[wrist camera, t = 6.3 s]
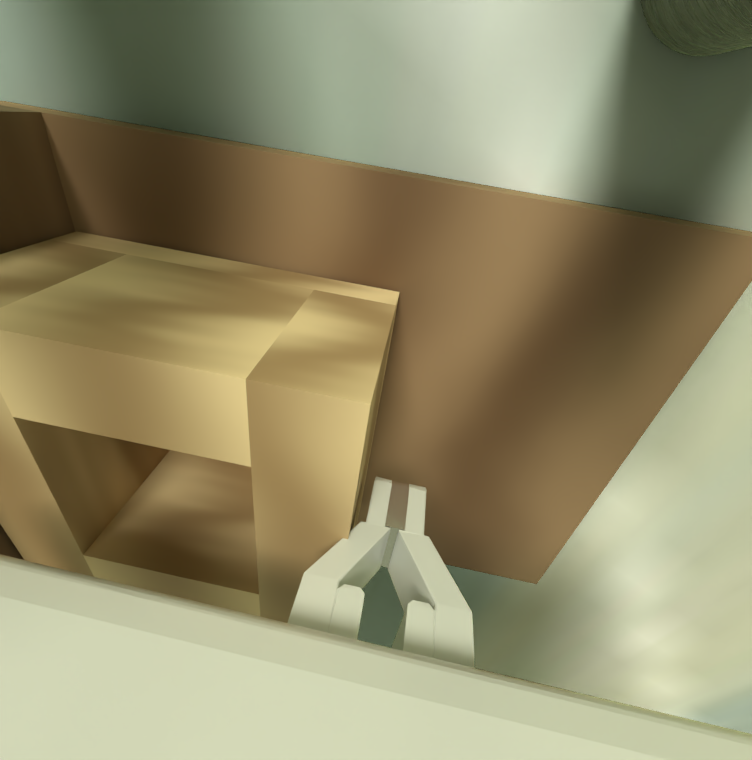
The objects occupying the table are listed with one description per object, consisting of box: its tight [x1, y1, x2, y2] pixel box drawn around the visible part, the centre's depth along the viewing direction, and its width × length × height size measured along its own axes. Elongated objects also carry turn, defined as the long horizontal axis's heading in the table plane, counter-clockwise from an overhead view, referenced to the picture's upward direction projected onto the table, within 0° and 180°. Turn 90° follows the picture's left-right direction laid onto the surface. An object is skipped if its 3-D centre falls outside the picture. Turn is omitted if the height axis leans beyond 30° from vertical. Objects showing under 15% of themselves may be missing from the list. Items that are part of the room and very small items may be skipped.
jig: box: [0, 101, 752, 584], centre depth 12 cm, size 21×16×9 cm
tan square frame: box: [0, 231, 400, 623], centre depth 12 cm, size 10×10×6 cm
